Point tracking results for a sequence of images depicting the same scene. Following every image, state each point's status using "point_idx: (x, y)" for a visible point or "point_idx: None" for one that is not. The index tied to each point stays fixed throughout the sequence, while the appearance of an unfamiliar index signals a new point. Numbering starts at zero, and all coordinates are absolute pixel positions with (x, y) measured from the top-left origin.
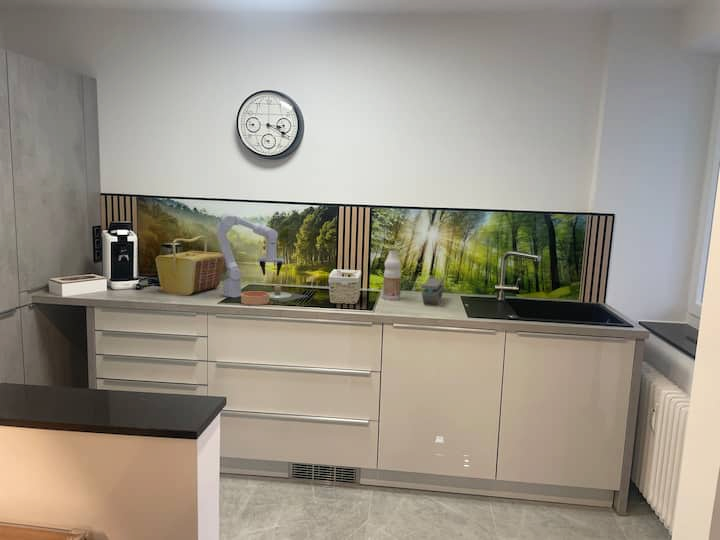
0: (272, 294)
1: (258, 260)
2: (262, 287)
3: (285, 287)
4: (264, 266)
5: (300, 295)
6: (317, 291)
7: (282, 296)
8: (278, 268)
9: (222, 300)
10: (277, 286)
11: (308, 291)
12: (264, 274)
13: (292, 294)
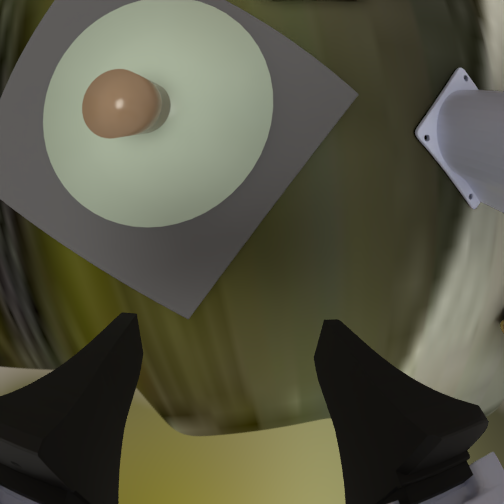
0: (189, 103)
1: (496, 472)
2: (308, 398)
3: (183, 414)
4: (360, 435)
5: (7, 178)
6: (3, 336)
7: (97, 56)
8: (64, 376)
9: (483, 16)
10: (112, 70)
11: (33, 336)
12: (325, 329)
13: (54, 200)
